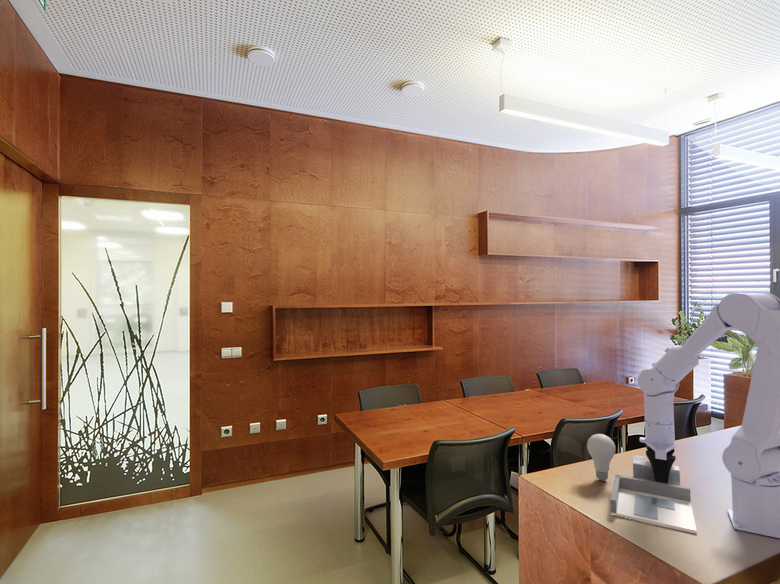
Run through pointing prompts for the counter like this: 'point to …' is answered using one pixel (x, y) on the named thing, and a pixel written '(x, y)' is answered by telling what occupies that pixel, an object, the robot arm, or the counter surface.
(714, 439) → the counter surface
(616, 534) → the counter surface
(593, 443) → the lightbulb
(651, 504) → the white tray
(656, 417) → the robot arm
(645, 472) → the bracket
